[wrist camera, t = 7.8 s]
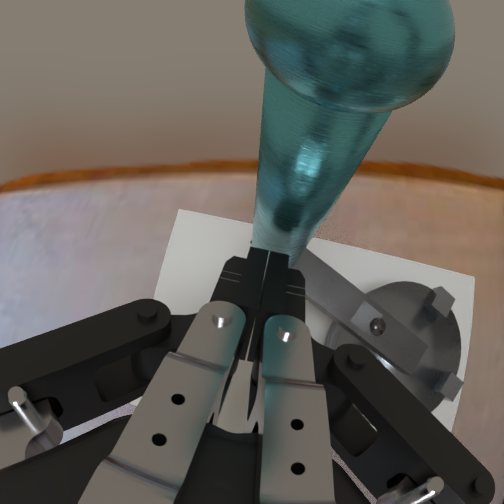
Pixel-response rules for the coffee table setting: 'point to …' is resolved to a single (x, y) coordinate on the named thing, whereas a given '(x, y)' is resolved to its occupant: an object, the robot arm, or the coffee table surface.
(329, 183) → the teal handled crank
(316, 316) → the white rectangular board
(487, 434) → the coffee table surface
